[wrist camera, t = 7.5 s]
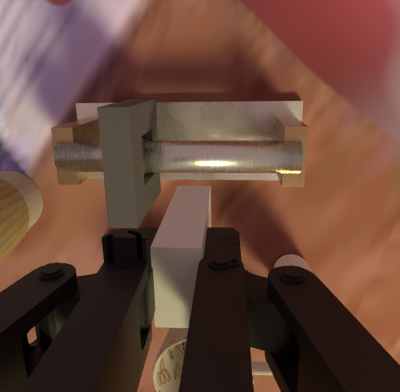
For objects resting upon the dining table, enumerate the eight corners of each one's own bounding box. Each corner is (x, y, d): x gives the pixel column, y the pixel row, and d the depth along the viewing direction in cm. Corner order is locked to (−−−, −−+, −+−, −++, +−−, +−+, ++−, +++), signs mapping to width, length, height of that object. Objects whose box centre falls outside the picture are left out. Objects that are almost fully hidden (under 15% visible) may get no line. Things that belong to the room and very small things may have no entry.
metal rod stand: (87, 176, 37) (46, 205, 29) (79, 102, 35) (32, 111, 27) (296, 177, 35) (314, 208, 27) (301, 100, 33) (322, 109, 25)
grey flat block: (138, 191, 34) (108, 227, 26) (132, 98, 31) (97, 107, 23) (160, 191, 34) (137, 228, 26) (156, 98, 31) (129, 107, 23)
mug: (170, 272, 39) (149, 335, 30) (293, 277, 38) (312, 344, 29) (172, 339, 42) (154, 416, 33) (287, 345, 41) (303, 427, 32)
